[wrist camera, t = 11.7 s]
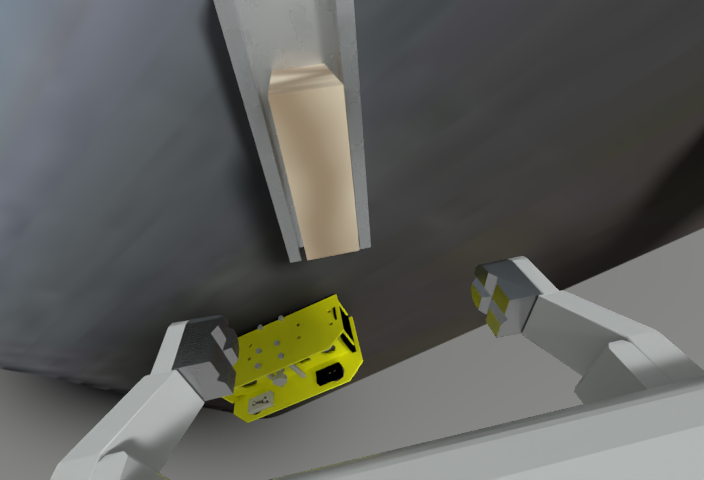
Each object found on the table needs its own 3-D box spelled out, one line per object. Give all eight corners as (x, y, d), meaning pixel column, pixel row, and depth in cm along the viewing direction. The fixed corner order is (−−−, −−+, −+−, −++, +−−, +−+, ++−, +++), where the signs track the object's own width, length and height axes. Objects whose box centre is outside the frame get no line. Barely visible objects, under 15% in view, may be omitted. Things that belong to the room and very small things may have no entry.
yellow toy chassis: (243, 361, 40) (235, 430, 33) (214, 340, 36) (199, 412, 30) (352, 314, 38) (367, 376, 32) (333, 287, 35) (346, 350, 28)
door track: (340, -40, 18) (350, -49, 16) (363, 229, 30) (370, 247, 28) (214, -27, 17) (203, -34, 15) (289, 243, 30) (290, 262, 27)
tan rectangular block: (324, 63, 20) (344, 84, 14) (341, 194, 26) (360, 250, 20) (270, 70, 20) (266, 95, 14) (300, 201, 26) (306, 260, 20)
